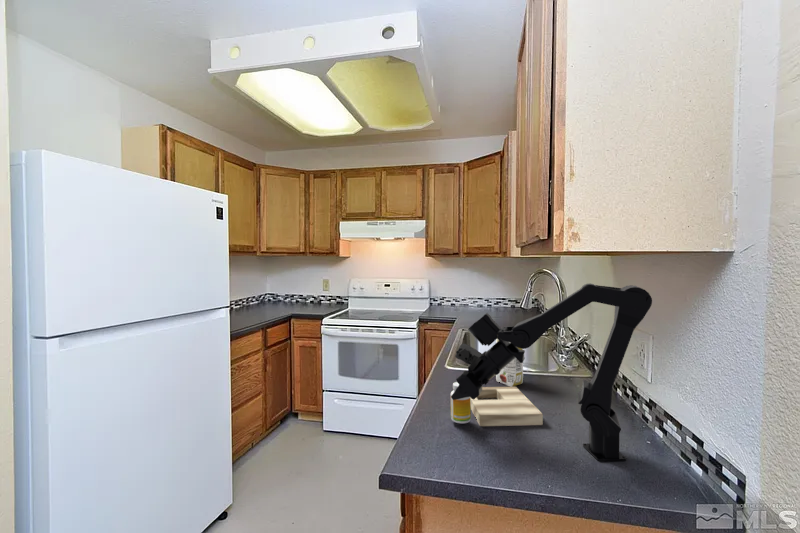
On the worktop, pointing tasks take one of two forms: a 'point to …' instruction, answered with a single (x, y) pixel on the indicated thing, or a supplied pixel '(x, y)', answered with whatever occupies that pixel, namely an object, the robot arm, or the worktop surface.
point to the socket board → (504, 408)
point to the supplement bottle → (460, 408)
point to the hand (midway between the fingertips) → (455, 394)
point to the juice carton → (511, 373)
